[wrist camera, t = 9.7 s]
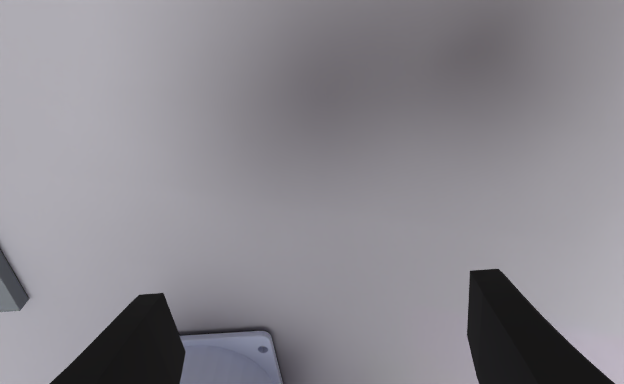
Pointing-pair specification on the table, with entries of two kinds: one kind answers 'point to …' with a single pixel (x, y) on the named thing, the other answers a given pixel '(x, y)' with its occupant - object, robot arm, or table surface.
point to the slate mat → (10, 289)
